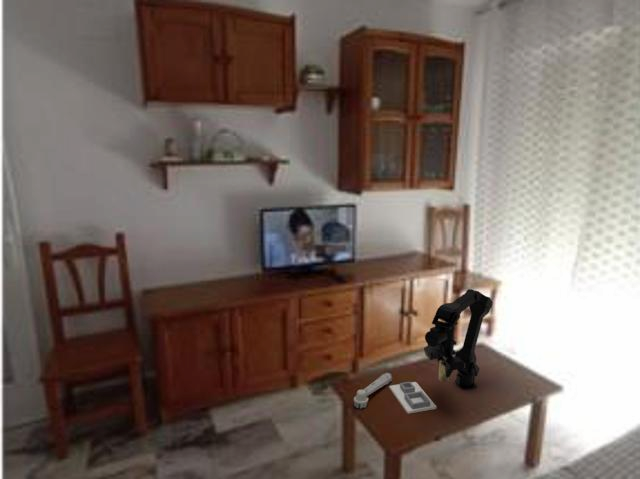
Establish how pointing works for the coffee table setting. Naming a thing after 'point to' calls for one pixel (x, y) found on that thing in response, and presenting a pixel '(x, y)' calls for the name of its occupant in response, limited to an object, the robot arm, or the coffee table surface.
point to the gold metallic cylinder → (442, 371)
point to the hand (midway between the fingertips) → (444, 374)
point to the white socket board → (412, 397)
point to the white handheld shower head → (371, 390)
